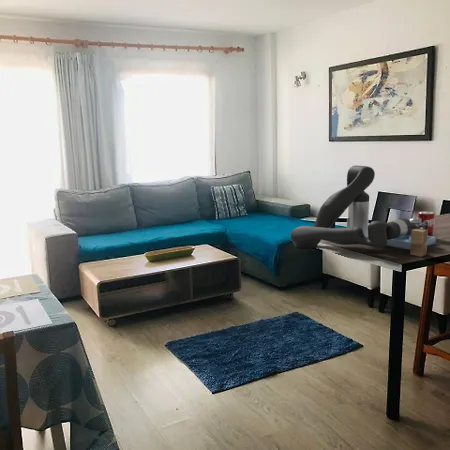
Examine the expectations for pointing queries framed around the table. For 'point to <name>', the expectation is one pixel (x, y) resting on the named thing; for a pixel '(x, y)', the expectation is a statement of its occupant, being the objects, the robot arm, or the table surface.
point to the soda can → (428, 220)
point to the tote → (407, 242)
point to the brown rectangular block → (419, 242)
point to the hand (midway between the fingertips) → (417, 223)
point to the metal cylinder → (416, 224)
